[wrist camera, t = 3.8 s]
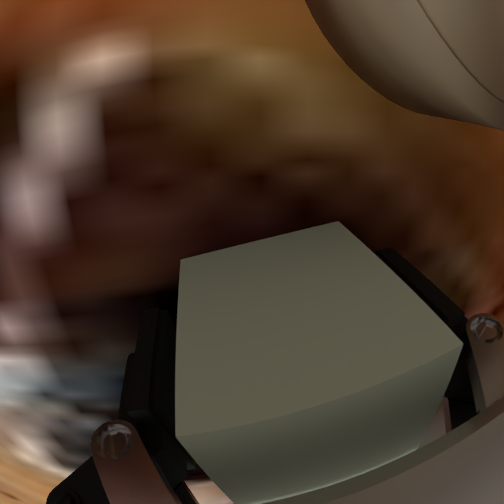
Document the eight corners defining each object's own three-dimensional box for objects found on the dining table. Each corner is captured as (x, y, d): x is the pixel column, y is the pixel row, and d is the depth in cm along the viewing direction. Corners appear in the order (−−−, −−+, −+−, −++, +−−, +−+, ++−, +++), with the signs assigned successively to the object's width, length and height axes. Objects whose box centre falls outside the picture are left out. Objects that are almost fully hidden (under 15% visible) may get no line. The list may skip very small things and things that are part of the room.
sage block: (337, 220, 10) (463, 343, 4) (342, 335, 12) (411, 458, 7) (180, 258, 9) (175, 437, 4) (220, 369, 12) (243, 512, 6)
